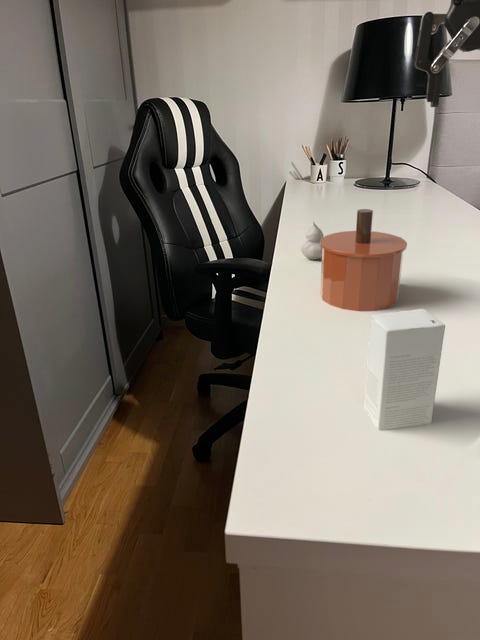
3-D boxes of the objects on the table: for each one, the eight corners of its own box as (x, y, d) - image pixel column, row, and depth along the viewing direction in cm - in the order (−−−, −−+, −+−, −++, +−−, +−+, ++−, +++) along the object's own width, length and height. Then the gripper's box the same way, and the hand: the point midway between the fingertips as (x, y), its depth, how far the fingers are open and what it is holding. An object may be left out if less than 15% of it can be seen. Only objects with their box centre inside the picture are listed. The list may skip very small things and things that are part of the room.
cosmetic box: (412, 404, 56) (425, 307, 51) (431, 427, 52) (448, 324, 47) (360, 411, 55) (369, 313, 50) (376, 435, 52) (387, 331, 47)
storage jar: (348, 280, 93) (352, 230, 89) (411, 297, 84) (418, 243, 80) (305, 300, 85) (307, 246, 81) (370, 321, 77) (375, 262, 73)
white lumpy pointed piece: (300, 254, 108) (301, 218, 105) (331, 254, 107) (333, 217, 104) (301, 262, 103) (301, 224, 100) (333, 262, 103) (335, 224, 99)
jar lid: (351, 232, 90) (353, 198, 87) (422, 246, 81) (427, 208, 78) (302, 249, 81) (303, 212, 79) (376, 267, 72) (379, 225, 70)
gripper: (551, -49, 58) (522, 103, 65) (422, -39, 61) (407, 106, 68) (576, -67, 51) (541, 105, 58) (430, -54, 54) (413, 108, 61)
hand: (469, 105), depth 63 cm, fingers open, 8 cm apart
